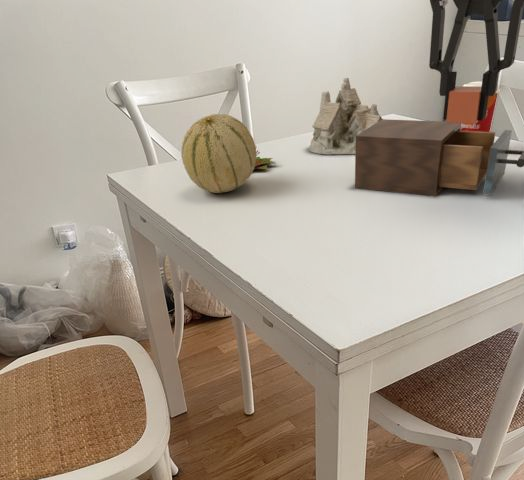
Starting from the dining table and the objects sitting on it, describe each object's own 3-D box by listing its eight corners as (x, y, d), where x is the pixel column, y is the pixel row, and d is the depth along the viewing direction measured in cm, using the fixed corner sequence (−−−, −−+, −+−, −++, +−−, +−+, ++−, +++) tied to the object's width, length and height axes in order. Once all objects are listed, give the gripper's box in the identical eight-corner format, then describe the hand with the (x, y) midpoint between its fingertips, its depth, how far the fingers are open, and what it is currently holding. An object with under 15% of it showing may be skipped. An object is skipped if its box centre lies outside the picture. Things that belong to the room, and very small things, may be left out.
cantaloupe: (258, 177, 117) (252, 102, 108) (259, 199, 104) (252, 117, 96) (191, 182, 117) (179, 108, 109) (184, 205, 105) (170, 124, 96)
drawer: (528, 175, 101) (537, 131, 96) (516, 197, 92) (525, 149, 88) (427, 167, 109) (431, 126, 105) (408, 187, 101) (411, 143, 96)
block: (481, 117, 86) (486, 86, 84) (475, 123, 83) (479, 91, 81) (453, 116, 88) (456, 86, 86) (446, 122, 85) (449, 91, 83)
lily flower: (273, 174, 117) (271, 152, 115) (219, 175, 119) (217, 154, 117) (281, 159, 127) (279, 138, 124) (231, 160, 129) (229, 140, 126)
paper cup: (445, 156, 118) (453, 86, 110) (464, 148, 122) (473, 80, 114) (478, 161, 113) (489, 88, 105) (497, 152, 117) (508, 82, 109)
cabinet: (455, 173, 108) (461, 122, 102) (435, 196, 98) (441, 140, 93) (379, 167, 115) (381, 119, 109) (354, 188, 105) (355, 135, 100)
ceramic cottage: (301, 147, 133) (303, 80, 124) (356, 138, 139) (362, 73, 130) (336, 165, 122) (340, 93, 113) (394, 154, 128) (403, 84, 119)
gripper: (413, -59, 74) (402, 122, 87) (555, -76, 66) (520, 125, 79) (428, -58, 79) (416, 112, 92) (561, -75, 71) (527, 114, 84)
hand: (464, 117), depth 86 cm, fingers closed on block, 4 cm apart
